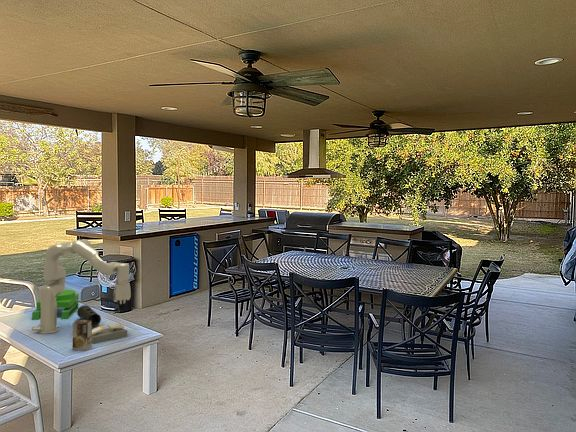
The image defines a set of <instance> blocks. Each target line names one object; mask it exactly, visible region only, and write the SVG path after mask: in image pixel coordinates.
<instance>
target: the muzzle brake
mask: <svg viewBox="0 0 576 432" xmlns="http://www.w3.org/2000/svg"><path fill="white" fill-rule="evenodd" d="M76 314H77V316H78V317H79V319H81V320H92V328H96V326H97V327H98V325H99V324H100V323H101V321H102V318H101V315H100V314H98V313H97V312H96V311H95V310H93V309H92V308H91V306H89V305H86V304H84V305H81V306H79V307H78V309H77V310H76Z"/></svg>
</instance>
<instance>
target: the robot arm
mask: <svg viewBox="0 0 576 432" xmlns="http://www.w3.org/2000/svg"><path fill="white" fill-rule="evenodd" d="M73 254H76V255H78V256H80V257H81V258H83V259H84V260H86V261H87V262H89V264H90V265H91V266H92V267H93V269H94V270H96V271H97V272H99V273H101V275H102V274H103V275H104V276H111V275H114V274H116V279H115V280H114V289H113V295H112V296H113V302H114V303H115V302H116V303H117V304H118V310H119V311H124V309H125V304H126V303H127V301H130V300H131V296H132V295H131V294H132V293H131V292H132V291H131V284H130V283H129V279H130V278H129V277H130V264H129V263H127V262H125V263H124V262H118V261H110V262H108V263H107V261H104V260H103V259H102V258H101V257H100V255H99V251H98V250H97V249H95V248H93V247H92V243H91V241H89V239H85V238H83V239H77V240H73V241H64V242H60V243H56V244H52V245H51V246H49V247H48V248H47V249H46V252H45V259H44V260H45V261H44V269H43V279H44V281H45V282H47V284H44V285H42V286H41V287H40V289H39V293H38V295H39V301H41V319H39V320H40V321H39V322H40V323H39V325H37V326H34V327H31V330H32V331H37V333H38V334H42V335H44V334H46V335H47V334H53V333H54V334H55V333H57V332H59V331H60V328H59V327H58V326H57V325H58V318H57V317H58V308H57V301H56V298H55V296H57V295H59V294H61V293H62V292H63V291H64V290H65V285H66V277H67V276H66V275H67V271H66V270H65V268H64V267H63V266H62V265H60V263H61V260H60V257H63V256H65V257H66V256H67V255H69V256H70V255H73Z"/></svg>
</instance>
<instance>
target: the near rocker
mask: <svg viewBox="0 0 576 432" xmlns="http://www.w3.org/2000/svg"><path fill="white" fill-rule="evenodd" d="M104 329H107V326H105V325H103V324H102V325H100V326H97V327H94V328H92V335H93V334H96V333H98V332H100V331H102V330H104Z"/></svg>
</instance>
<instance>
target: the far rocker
mask: <svg viewBox="0 0 576 432" xmlns="http://www.w3.org/2000/svg"><path fill="white" fill-rule="evenodd" d="M107 327H108V328H123V329H125V325H122V324H121V323H119V324H107V326H106V328H107Z"/></svg>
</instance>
